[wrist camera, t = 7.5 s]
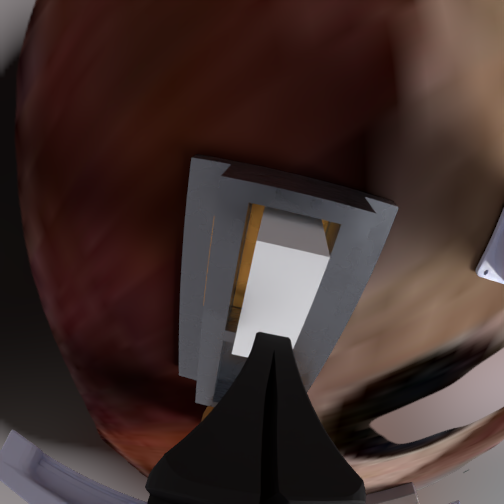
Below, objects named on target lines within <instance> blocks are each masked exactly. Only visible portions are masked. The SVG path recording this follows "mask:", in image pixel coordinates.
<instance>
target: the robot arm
mask: <svg viewBox="0 0 504 504" xmlns="http://www.w3.org/2000/svg"><path fill="white" fill-rule="evenodd" d="M485 270H486V271H485ZM484 271H485V272H484ZM476 274H477V275H478V276H479V277H483V278H486V279H489V280H492V281H496V282H499V283H502V284H504V208H503V211H502V213H501V216H500V218H499V221H498V223H497V225H496V228H495V230H494V232H493V235H492V237H491V239H490V241H489V243H488V245H487V248H486V250H485V252H484V254H483V256H482V258H481V260H480V262H479V264H478V266H477V267H476ZM0 481H2V482H3V483H4V484H5V485H6V486H8V487H9V488H10V489H11V490H13V491H14V492H15V493H16V494H18V495H19V496H20V497H21V498H23V499H24V500H25V501H26V502H28V503H29V504H365V503H366V493H365V487H364V482H363V480H362V479H361V477H360V476H359V475H358V474H357V473H356V472H355V471H354V470H353V469H352V467H351V466H350V465H349V464H348V463H347V461H346V460H345V459H344V457H343V456H342V455H341V454H340V452H339V451H338V449H337V448H336V446H335V445H334V443H333V442H332V440H331V439H330V437H329V436H328V434H327V433H326V431H325V429H324V427H323V426H322V424H321V422H320V420H319V418H318V416H317V414H316V412H315V410H314V408H313V406H312V404H311V402H310V399H309V397H308V395H307V392H306V390H305V387H304V384H303V382H302V379H301V376H300V373H299V370H298V367H297V363H296V360H295V356H294V352H293V348H292V344H291V340H290V338H289V337H283V336H278V335H273V334H268V333H264V332H258V333H256V336H255V339H254V342H253V346H252V349H251V352H250V354H249V356H248V358H247V360H246V362H245V364H244V366H243V367H242V369H241V371H240V373H239V374H238V376H237V377H236V379H235V380H234V382H233V383H232V385H231V387H230V388H229V389H228V391H227V392H226V393H225V395H224V396H223V397H222V399H221V400H220V401H219V402H218V404H217V405H216V406H215V407H214V408H213V410H212V411H211V412H210V413H209V414H208V415H207V416H206V417H205V418H204V420H203V421H202V422H201V423H200V424H199V425H198V426H197V427H196V428H194V429H193V430H192V431H191V432H190V433H189V434H188V435H187V436H186V437H185V438H184V439H183V440H181V441H180V442H179V443H178V444H177V445H175V446H174V447H173V448H172V449H170V450H169V451H168V452H167V453H165V454H164V456H163V457H162V458H161V459H160V461H159V462H158V463H157V464H156V465H155V467H154V468H153V469H152V471H151V472H150V474H149V476H148V480H147V483H146V486H145V488H146V490H147V491H148V492H149V493H150V496H149V499H148V502H145V501H142V500H139V499H136V498H134V497H131V496H128V495H126V494H123V493H121V492H118V491H116V490H113V489H111V488H109V487H107V486H104V485H102V484H100V483H98V482H96V481H94V480H91V479H89V478H87V477H85V476H83V475H82V474H80V473H78V472H76V471H74V470H72V469H70V468H68V467H67V466H65V465H63V464H61V463H60V462H58V461H56V460H54V459H53V458H51V457H50V456H48V455H46V454H45V453H43V451H42V450H40V449H39V448H38V447H37V446H35V445H34V444H33V443H31V442H30V441H29V440H27V439H26V438H24V437H23V436H22V435H20V434H19V433H17V432H16V431H15V430H11V432H10V434H9V435H8V437H7V439H6V441H5V443H4V445H3V447H2V449H1V451H0ZM449 504H460V501H459V500H458V501H455V502H452V503H449Z"/></svg>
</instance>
